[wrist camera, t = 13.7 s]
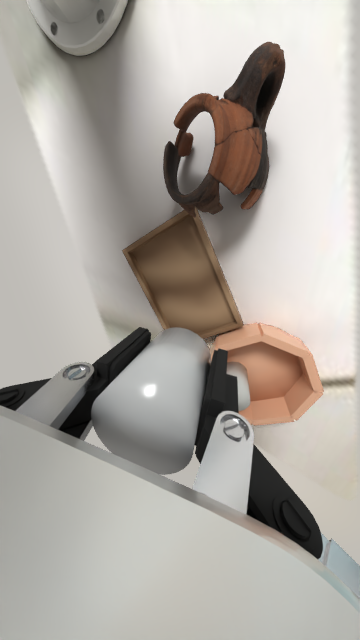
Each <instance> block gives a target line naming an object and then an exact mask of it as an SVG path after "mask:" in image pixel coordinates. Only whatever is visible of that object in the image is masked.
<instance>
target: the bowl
mask: <svg viewBox="0 0 360 640" xmlns="http://www.w3.org/2000/svg"><path fill="white" fill-rule="evenodd" d="M218 348H219V349H223V350H227V351H228V357H227V362H232V361H233V362H239V363H241V364H242V365H244V366H245V368H246V369H247V373H248V383H249V392H250V405H249V406H248V407H247V408H246V409H245V410H242V411H239V414H240V415H241V416H243V417H244V418H245V419H246V420H247V421H248V422H249V423H250V425H252V423H253V425H265V424H275V423H286V422H294V419H295V420H298V419H299V418H300V417H301V416H302V415H303V414H304V413H305V412H306V411H307V410H308V409H309V408H310V407H311V406H312V405H313V404H314V403H315V402H316V401H317V400H318V399H319V398H320V397H321V396H322V395H323V393H322V392H324V390H323V387H322V384H321V381H320V378H319V374H318V371H317V368H316V365H315V362H314V359H313V355H312V354H311V352H310V351H309V350H308V348H307V347H306V346H305V345H304V343H303V342H302V341H301V340H300V339H299V338H297V337H295V336H292V335H290V334H288V333H287V332H285V331H283V330H281V329H279V328H276V327H273V326H270V325H265V324H262V323H259V324H257V323H253V324H245V325H243V326H242V327H239V328H236V329H233V330H229V331H226V332H224V333H221V334H219V336H217V337H216V339H215V341H214V343H213V344H212V346H211V348H210V354H211V360H212V356H213V353H214V350H217V351H218Z"/></svg>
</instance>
